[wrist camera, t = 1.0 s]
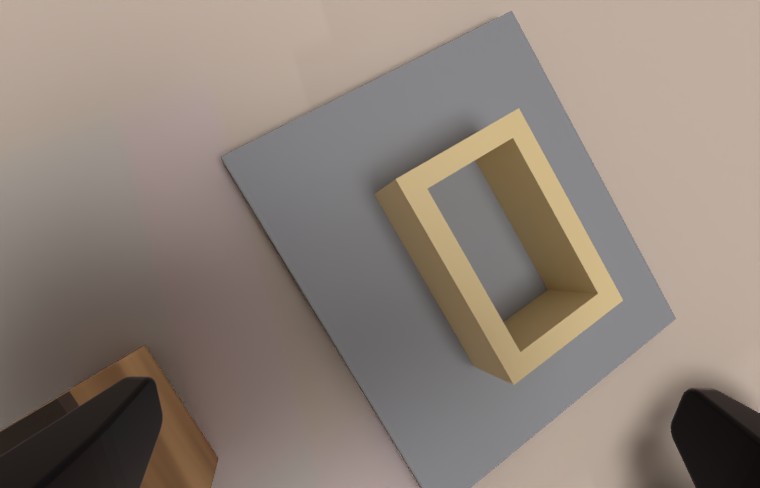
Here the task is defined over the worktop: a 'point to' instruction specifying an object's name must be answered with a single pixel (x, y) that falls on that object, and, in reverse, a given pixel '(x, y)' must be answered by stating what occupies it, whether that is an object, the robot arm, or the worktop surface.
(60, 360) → the worktop surface
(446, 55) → the grey board with socket
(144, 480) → the wood topped block
